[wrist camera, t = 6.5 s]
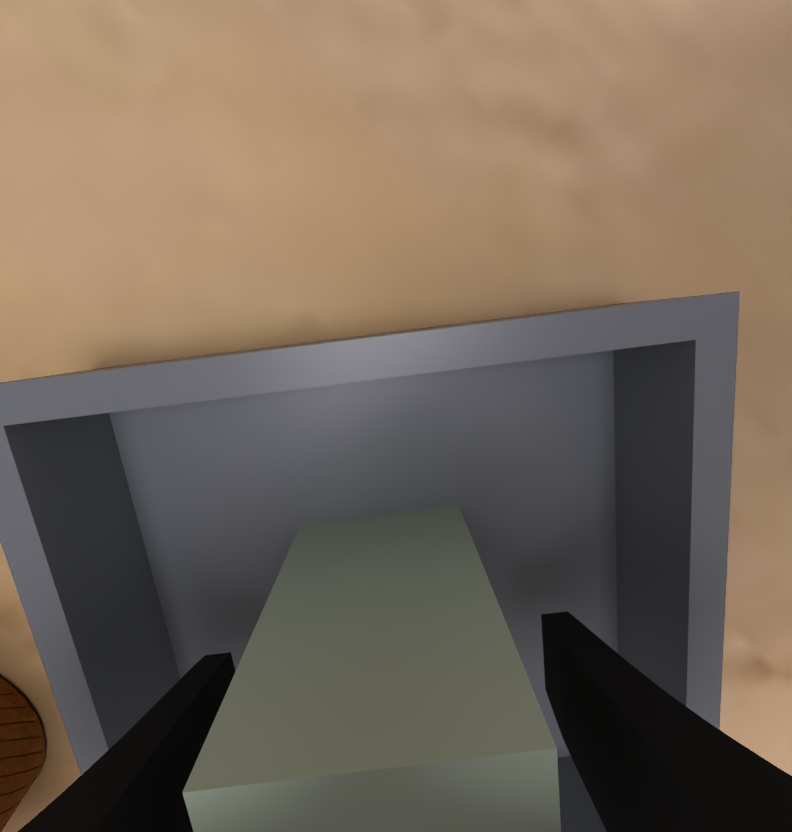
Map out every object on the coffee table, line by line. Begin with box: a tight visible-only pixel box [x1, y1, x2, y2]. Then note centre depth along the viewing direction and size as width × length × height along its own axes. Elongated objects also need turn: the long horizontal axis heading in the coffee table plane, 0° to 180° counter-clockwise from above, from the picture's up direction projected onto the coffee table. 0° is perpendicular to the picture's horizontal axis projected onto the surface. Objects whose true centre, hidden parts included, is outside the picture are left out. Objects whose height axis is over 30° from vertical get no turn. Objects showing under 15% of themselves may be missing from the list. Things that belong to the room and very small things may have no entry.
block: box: [182, 505, 561, 832], centre depth 9 cm, size 4×4×7 cm
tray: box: [0, 291, 740, 832], centre depth 11 cm, size 15×15×4 cm
